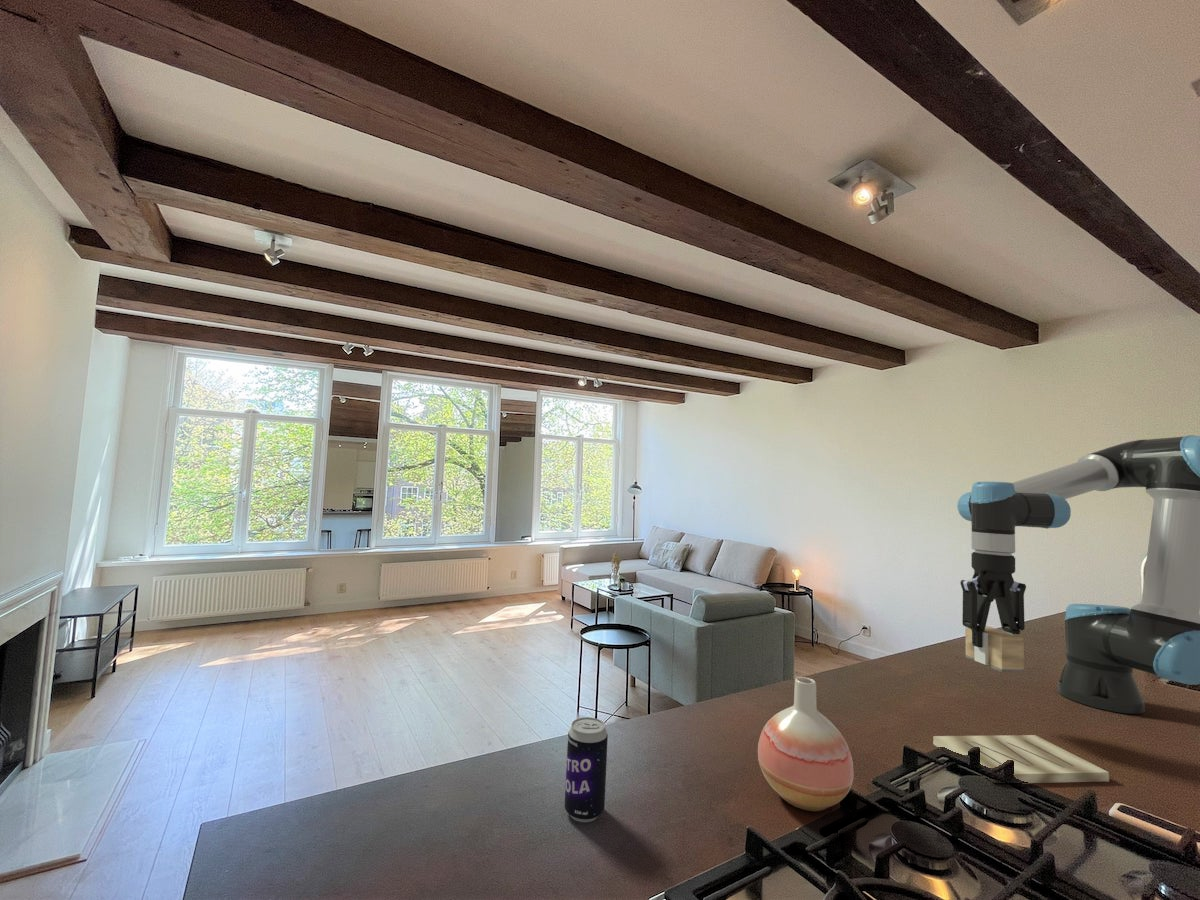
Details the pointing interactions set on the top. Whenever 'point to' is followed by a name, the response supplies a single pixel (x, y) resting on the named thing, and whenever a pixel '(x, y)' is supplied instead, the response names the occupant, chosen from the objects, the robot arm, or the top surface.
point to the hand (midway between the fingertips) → (993, 662)
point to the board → (1027, 757)
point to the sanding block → (1000, 650)
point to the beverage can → (586, 769)
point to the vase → (805, 754)
